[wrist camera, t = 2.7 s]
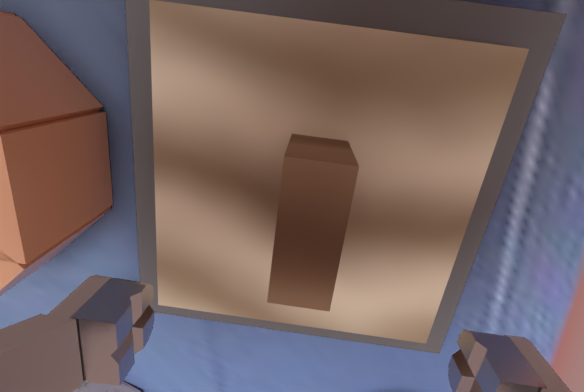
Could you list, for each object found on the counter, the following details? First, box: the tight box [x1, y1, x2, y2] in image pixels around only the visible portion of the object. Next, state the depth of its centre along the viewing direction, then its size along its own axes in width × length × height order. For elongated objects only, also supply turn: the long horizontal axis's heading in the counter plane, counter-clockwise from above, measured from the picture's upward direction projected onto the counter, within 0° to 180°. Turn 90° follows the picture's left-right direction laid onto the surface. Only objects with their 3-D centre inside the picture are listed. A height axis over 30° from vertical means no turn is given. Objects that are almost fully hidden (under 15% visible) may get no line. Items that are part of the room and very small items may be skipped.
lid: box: [149, 0, 529, 344], centre depth 15 cm, size 15×15×5 cm
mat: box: [125, 0, 566, 353], centre depth 17 cm, size 18×18×1 cm
